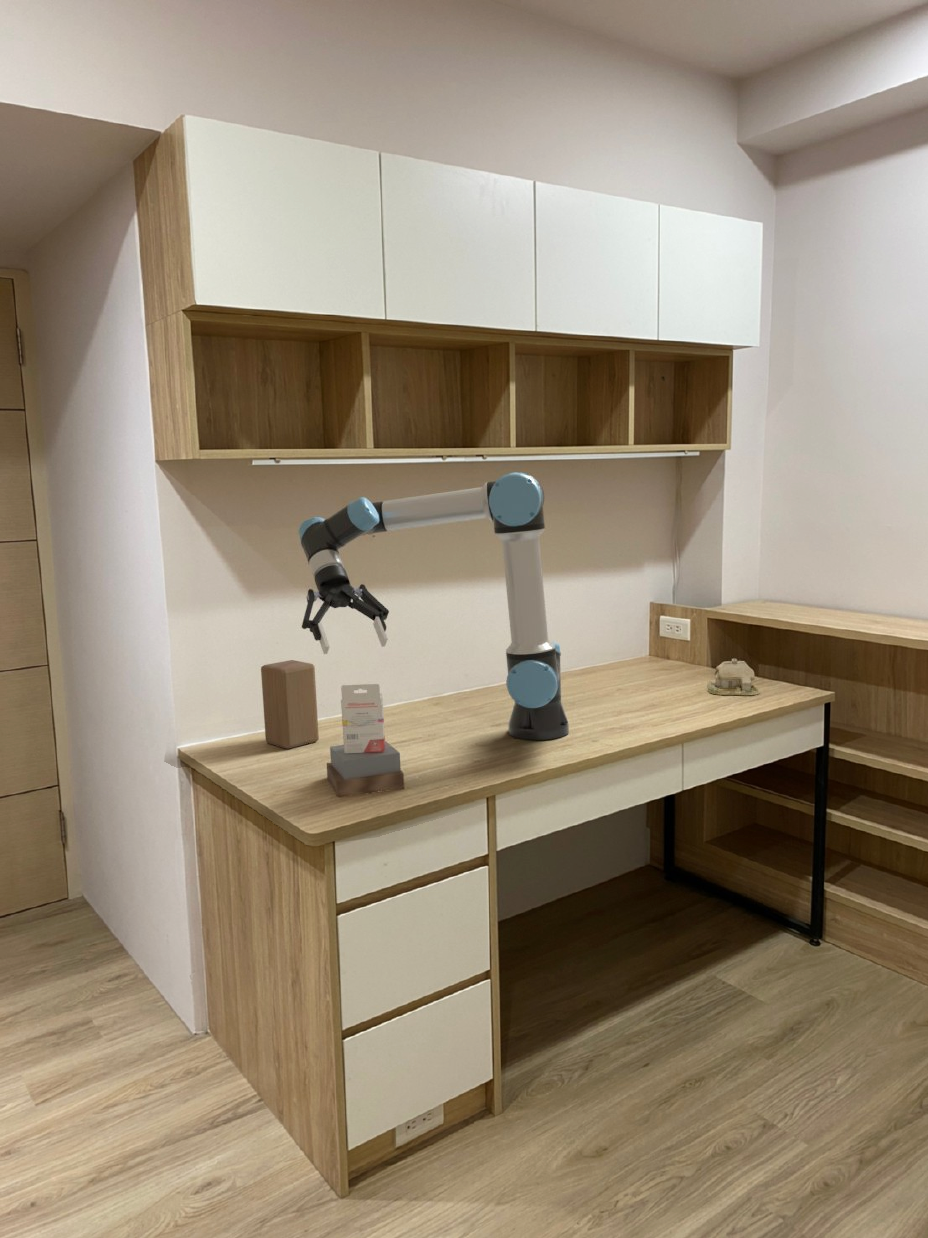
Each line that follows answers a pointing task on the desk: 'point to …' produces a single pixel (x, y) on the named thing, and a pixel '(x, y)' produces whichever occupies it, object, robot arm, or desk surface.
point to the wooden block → (289, 703)
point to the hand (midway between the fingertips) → (356, 646)
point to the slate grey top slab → (365, 762)
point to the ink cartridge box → (362, 719)
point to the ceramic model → (733, 679)
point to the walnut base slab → (364, 782)
